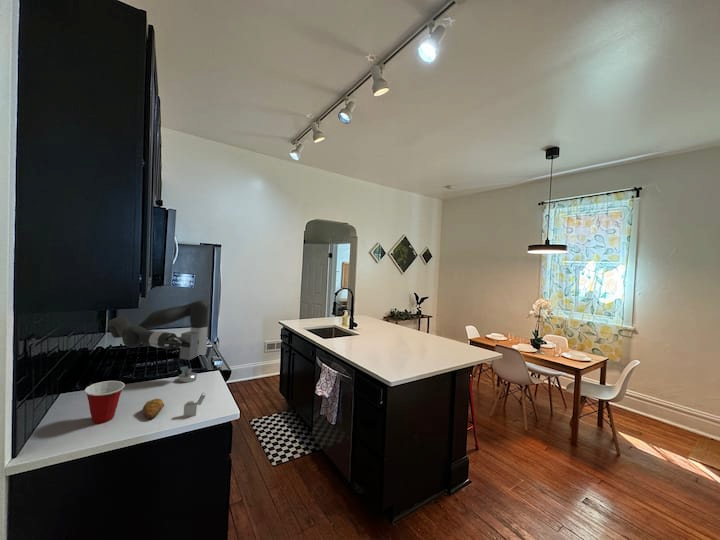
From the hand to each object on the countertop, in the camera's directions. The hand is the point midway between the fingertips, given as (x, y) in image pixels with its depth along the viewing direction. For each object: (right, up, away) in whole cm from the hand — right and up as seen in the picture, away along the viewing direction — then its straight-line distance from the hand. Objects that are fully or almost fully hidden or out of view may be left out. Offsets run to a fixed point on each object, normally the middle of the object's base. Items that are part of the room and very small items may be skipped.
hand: (194, 343), depth 140 cm
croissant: (+1, -19, -30) cm, 35 cm away
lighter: (+17, -20, -30) cm, 39 cm away
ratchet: (-7, -17, +5) cm, 20 cm away
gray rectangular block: (-3, -7, 0) cm, 7 cm away
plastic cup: (-11, -18, -37) cm, 42 cm away
